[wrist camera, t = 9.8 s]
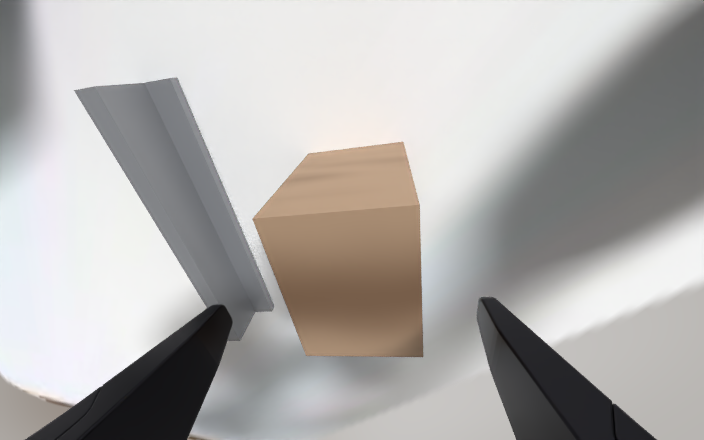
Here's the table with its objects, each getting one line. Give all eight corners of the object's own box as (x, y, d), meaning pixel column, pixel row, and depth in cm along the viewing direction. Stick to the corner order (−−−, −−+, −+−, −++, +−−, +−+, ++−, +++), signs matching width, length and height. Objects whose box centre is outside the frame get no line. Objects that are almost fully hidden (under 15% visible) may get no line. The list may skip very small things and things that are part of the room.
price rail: (131, 86, 13) (70, 91, 10) (177, 77, 13) (124, 80, 10) (244, 306, 21) (224, 340, 18) (274, 306, 20) (258, 340, 18)
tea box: (410, 251, 17) (425, 356, 11) (331, 256, 17) (304, 355, 11) (405, 141, 13) (423, 204, 7) (307, 153, 14) (249, 219, 8)
